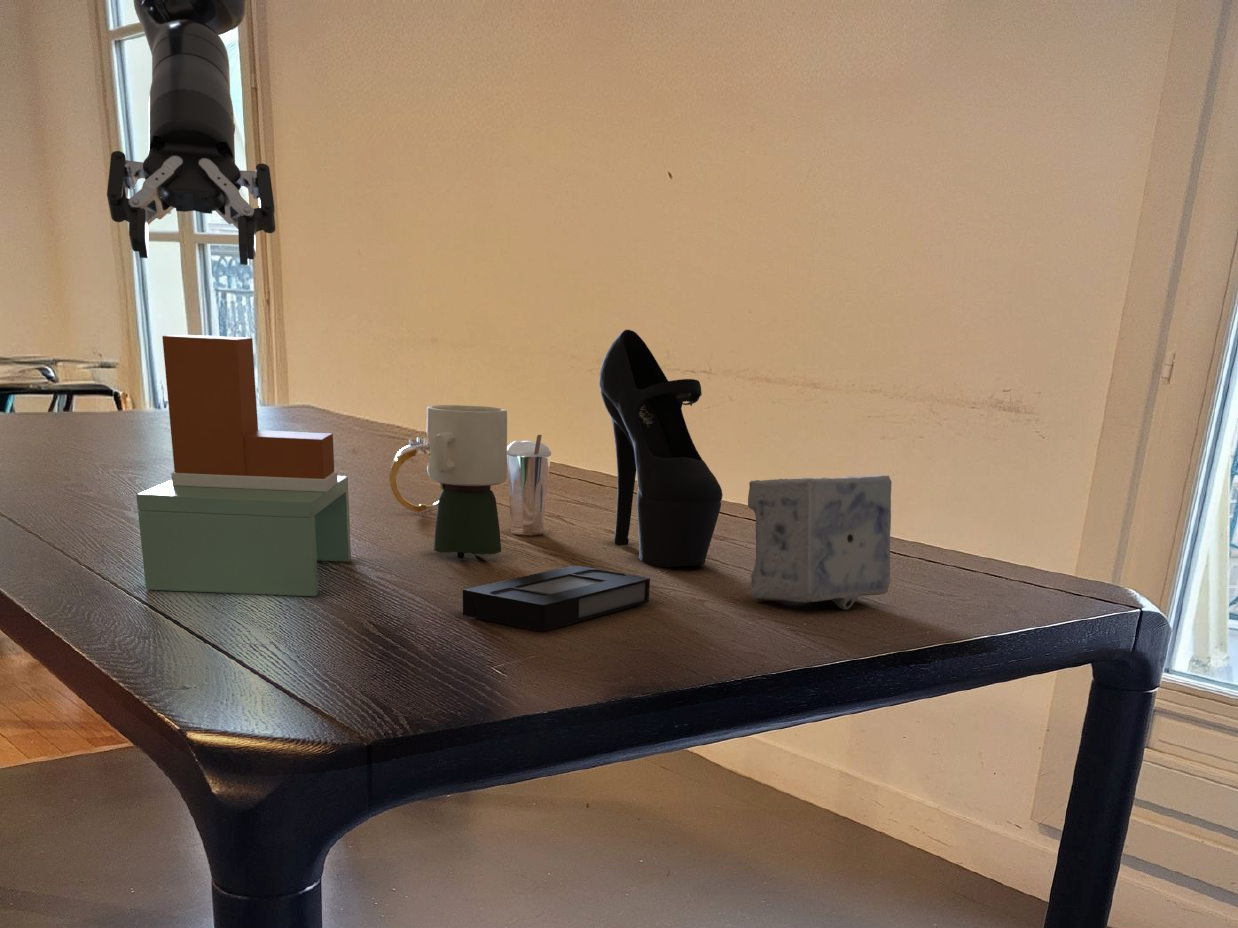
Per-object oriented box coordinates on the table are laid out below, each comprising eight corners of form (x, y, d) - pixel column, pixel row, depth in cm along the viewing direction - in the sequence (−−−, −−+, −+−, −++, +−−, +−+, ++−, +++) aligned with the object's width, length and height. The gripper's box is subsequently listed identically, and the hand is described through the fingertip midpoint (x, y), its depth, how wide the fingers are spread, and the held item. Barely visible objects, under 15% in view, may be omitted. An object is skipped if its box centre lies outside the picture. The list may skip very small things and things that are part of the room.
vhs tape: (650, 603, 103) (651, 578, 102) (542, 632, 92) (543, 605, 91) (574, 589, 107) (575, 565, 106) (462, 616, 96) (462, 589, 95)
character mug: (459, 543, 124) (458, 402, 119) (526, 551, 122) (528, 407, 117) (404, 561, 114) (400, 408, 109) (476, 569, 112) (476, 414, 107)
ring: (454, 512, 142) (453, 437, 139) (455, 517, 139) (455, 440, 136) (390, 511, 141) (388, 435, 138) (390, 515, 138) (388, 438, 135)
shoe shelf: (145, 589, 99) (135, 494, 96) (203, 553, 113) (196, 469, 111) (315, 596, 99) (311, 501, 97) (351, 559, 114) (347, 476, 111)
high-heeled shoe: (680, 578, 113) (694, 335, 106) (574, 542, 128) (580, 327, 120) (751, 572, 118) (770, 338, 110) (641, 538, 132) (651, 330, 124)
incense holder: (819, 587, 113) (832, 465, 109) (890, 606, 107) (906, 477, 103) (736, 596, 107) (746, 468, 103) (805, 617, 101) (819, 481, 97)
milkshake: (516, 538, 128) (517, 434, 124) (499, 529, 133) (499, 429, 129) (558, 537, 130) (561, 434, 126) (540, 529, 134) (542, 429, 131)
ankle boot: (172, 485, 101) (158, 335, 96) (191, 477, 106) (179, 334, 102) (326, 492, 101) (319, 343, 97) (337, 483, 107) (332, 341, 102)
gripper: (103, 77, 114) (101, 213, 109) (269, 94, 118) (275, 225, 112) (116, 151, 121) (115, 282, 115) (272, 164, 125) (278, 291, 119)
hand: (193, 254), depth 114 cm, fingers open, 8 cm apart
